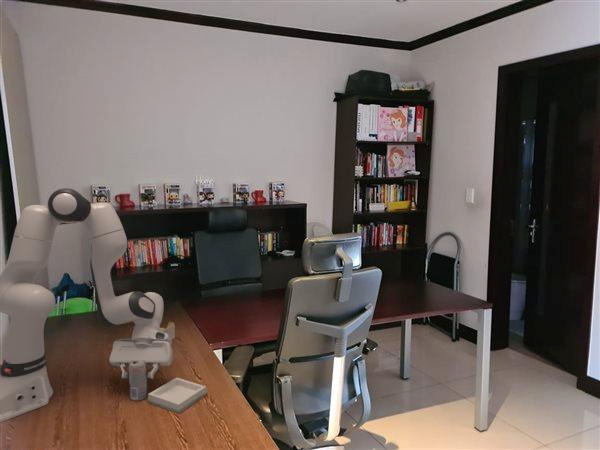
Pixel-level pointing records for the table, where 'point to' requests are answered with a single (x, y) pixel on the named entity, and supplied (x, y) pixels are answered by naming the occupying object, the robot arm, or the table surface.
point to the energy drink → (137, 380)
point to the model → (169, 330)
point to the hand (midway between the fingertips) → (137, 378)
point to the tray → (177, 395)
